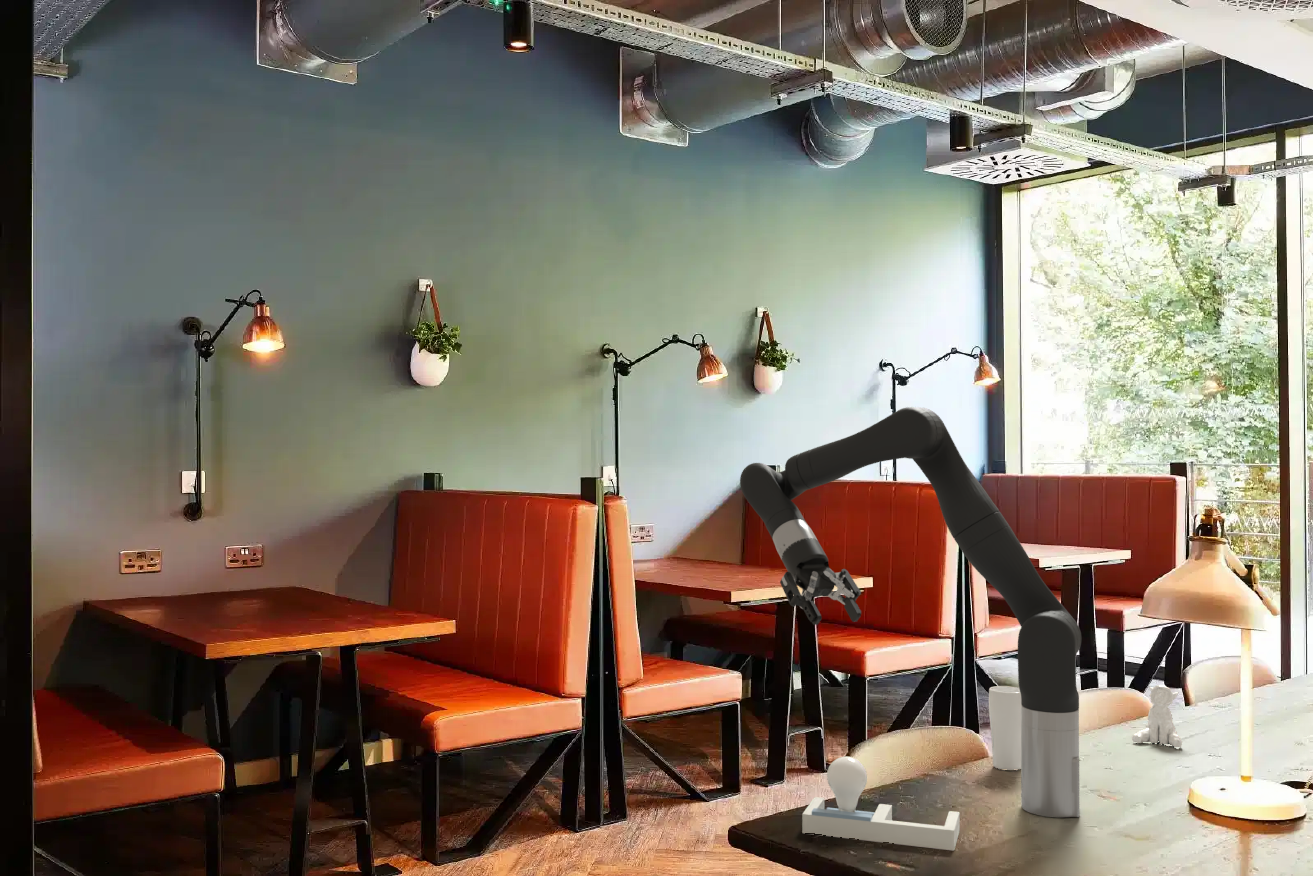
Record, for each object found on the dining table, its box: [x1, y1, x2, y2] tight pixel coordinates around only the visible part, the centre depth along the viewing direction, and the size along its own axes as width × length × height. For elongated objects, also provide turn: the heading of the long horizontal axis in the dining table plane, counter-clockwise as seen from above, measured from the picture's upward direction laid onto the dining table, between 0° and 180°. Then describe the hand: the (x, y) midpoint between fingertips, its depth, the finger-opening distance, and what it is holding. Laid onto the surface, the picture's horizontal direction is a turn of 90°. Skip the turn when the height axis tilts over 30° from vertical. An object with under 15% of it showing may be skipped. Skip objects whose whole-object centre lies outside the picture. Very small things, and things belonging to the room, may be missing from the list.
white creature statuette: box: [1131, 684, 1183, 748], centre depth 240 cm, size 10×9×12 cm
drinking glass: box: [988, 685, 1021, 770], centre depth 219 cm, size 7×7×15 cm
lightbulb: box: [826, 755, 868, 813], centre depth 184 cm, size 6×6×11 cm
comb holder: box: [801, 796, 961, 851], centre depth 182 cm, size 23×11×4 cm, turn 70°
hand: (837, 620), depth 201 cm, fingers open, 8 cm apart
